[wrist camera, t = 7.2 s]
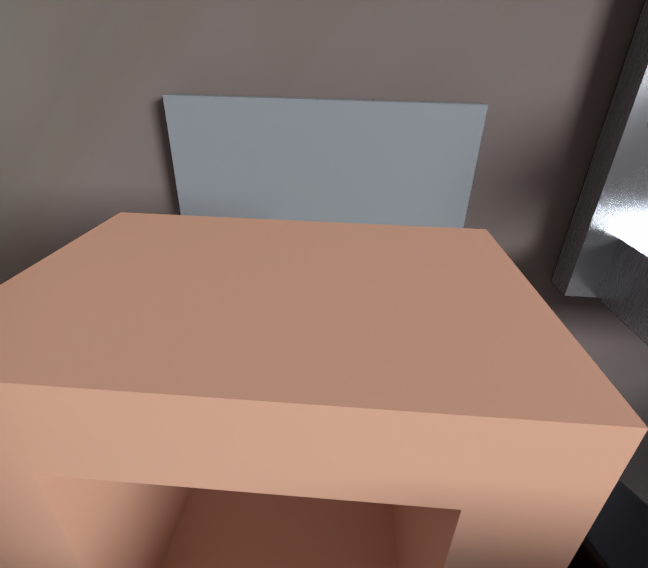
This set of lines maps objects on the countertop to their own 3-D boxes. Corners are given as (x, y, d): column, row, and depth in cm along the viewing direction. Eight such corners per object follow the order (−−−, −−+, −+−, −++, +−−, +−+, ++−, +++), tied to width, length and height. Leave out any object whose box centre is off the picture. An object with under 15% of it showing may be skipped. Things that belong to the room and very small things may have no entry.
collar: (430, 474, 9) (474, 726, 6) (175, 454, 9) (69, 681, 6) (485, 229, 6) (649, 428, 3) (120, 212, 7) (-145, 372, 3)
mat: (432, 355, 16) (435, 365, 15) (206, 341, 16) (201, 350, 15) (481, 103, 11) (488, 105, 11) (171, 93, 12) (162, 94, 11)
